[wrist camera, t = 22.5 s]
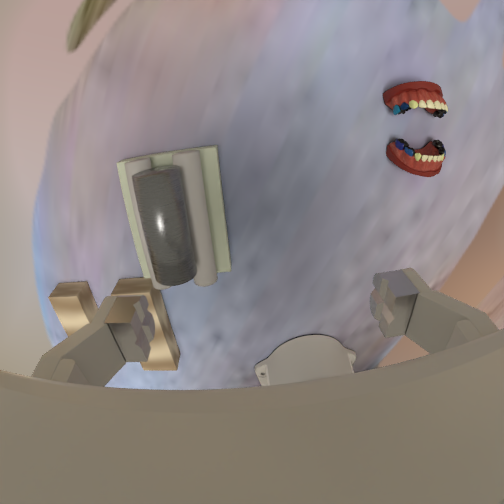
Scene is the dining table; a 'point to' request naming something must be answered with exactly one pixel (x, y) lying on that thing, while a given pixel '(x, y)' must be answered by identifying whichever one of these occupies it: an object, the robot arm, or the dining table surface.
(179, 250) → the axle
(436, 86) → the teeth model
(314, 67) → the dining table surface
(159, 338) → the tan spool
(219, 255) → the plate with parallel rods
